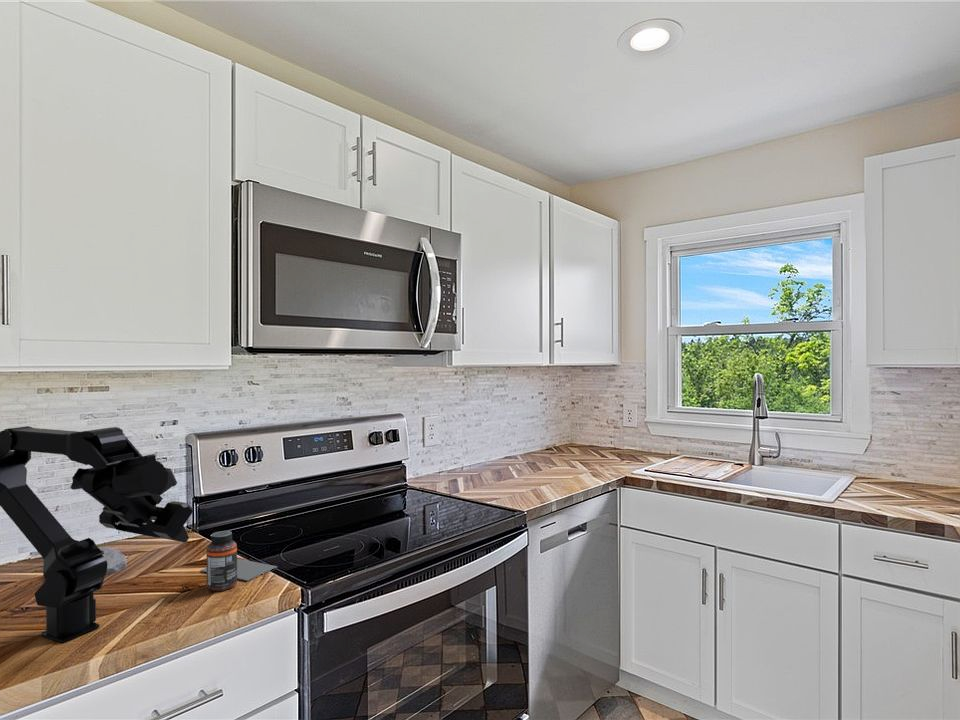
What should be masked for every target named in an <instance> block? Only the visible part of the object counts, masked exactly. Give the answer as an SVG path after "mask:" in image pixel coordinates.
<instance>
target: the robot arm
mask: <svg viewBox="0 0 960 720" xmlns="http://www.w3.org/2000/svg"><path fill="white" fill-rule="evenodd" d="M32 452H33V453H44V454H52V455H53V454H54V455H55V454H56V455H62V456H66V457H67V458H68V460H69V461H72V462H76V463H79V464H82V465H86V466H90V467H89V468H77V470H76V472H75V473H74V475H73V476H72V477H71V478H72V479H71V480H72V483H71V486H70V489H71V490H81V489H82V490H83V491H84V492H85V493H86V494H87V495H88V496H90V497H92V498H93V499H94V500H95V501H97V502H98V503H99V504H101V505H102V506H103V508H102V511H101V513H100V514H99V515H98V517H99V519H98V523H99V524H100V525H102V526H103V527H105V528H108V529H113V530H116V531H120V532H124V533H131V534H135V535H141V536H146V537H151V538H157V539H165V540H170V541H175V542H180V543H185V544H186V543H187V542H188V541H189V538H190V537H189V534H188V532H187V530H186V528H185V525H186V523H187V521H188V520H189V518H190V517H191V516H192V514H193V512H194V508H193V507H192V506H191V505H190V504H188V502H183V501H175V500H173V501H170V502H167V503H166V505H165V506H164V507H163V506H157V505H159V504H160V503H162V500H163V499H164V498H163V497H162V495H163V494H164V493H166V492H168V490H169V489H171V488H173V487H175V486H176V485H177V484H178V481H177V480H176V477H175V474H174V472H173V470H172V468H169V467H165V466H164V464H163V463H161V462H160V461H158V460H157V458H156V454H155V453H152V454H147V455H146V454H145V455H142V453H140V451H139V450H138V449H137V448H136V447H135V445H134V444H133V443H132V442H131V441H130V439H129V438H128V437H127V436H126V435H125V433H124V431H123V429H122V428H120V427H117V426H111V427H106V428H105V427H104V428H98V429H97V428H96V429H91V430H89V429H88V430H84V431H83V430H82V431H77V430H76V431H75V430H63V429H51V428H39V427H37V428H36V427H32V426H29V425H26V426H19V427H11V428H10V427H9V428H4V429H3V430H0V507H1V508H2V510H3V512H4V513H6V515H7V516H8V517H9V518H10V520H12V522H13V523H14V524H15V525H16V527H17V528H18V530H20V532H21V533H22V535H24V537H25V538H26V539H27V540H28V541H29V543H30V544H31V545H32V546H33V548H34V549H35V550H36V551H37V552H38V554H39V555H40V556H41V558H42V559H43V566H42V567H43V568H42V571H43V572H42V576H43V578H44V579H45V581H44V582H43V583H42V585H40V587H39V588H38V589H37V590H36V591H35V592H34V597H35V602H36V605H37V606H40V607H45V609H46V610H45V615H46V616H45V617H46V618H45V621H46V622H45V624H46V625H45V628H46V630H43V631H41V632H40V637H43V638H47V639H50V640H53V641H55V642H59V643H65V642H68V641H70V640H72V639H75V638H78V637H80V636H83V635H84V634H86V633H90V632H91V631H94V630H96V629H98V628H100V623H96V621H97V608H96V607H97V600H96V598H94V597H95V596H94V592H96V591H99V590H101V589H102V587H103V584H104V580H105V578H106V576H107V575H106V572H107V565H108V563H107V561H106V559H105V557H104V556H103V554H104V552H103V551H101V550H100V549H99V547H98V546H97V544H96V542H95V541H94V540H93V539H92V538H90V537H88V538H85V539H82V540H76V539H74V538H73V537H72V536H71V535H70V534H69V532H68V531H66V529H65V528H64V527H63V526H62V524H61V523H60V522H59V521H58V520H57V518H56V517H55V516H54V515H53V514H52V512H51V511H50V510H49V509H48V508H47V506H45V504H44V503H43V502H42V500H41V499H40V498H39V497H38V496H37V495H36V493H35V492H34V491H33V489H31V487H30V486H29V485H28V484H27V475H28V473H27V472H28V469H27V467H26V465H27V464H28V463H29V462H30V460H32Z"/></svg>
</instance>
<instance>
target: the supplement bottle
mask: <svg viewBox="0 0 960 720" xmlns="http://www.w3.org/2000/svg"><path fill="white" fill-rule="evenodd" d="M210 537H211V540H210V541H211V542H210V543H209V544H208V545H207V547H206V568H207V573H206V588H207V589H208V590H210V591H213V592H219V591H220V592H223V591H227V590H230V589H232V588H234V587H236V586H237V584H238V580H237V559H238V545H237V542H236V541H234V540H233V533H232V531H229V530H222V531H221V530H220V531H215V532H213V533H211V536H210Z"/></svg>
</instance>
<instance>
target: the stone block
mask: <svg viewBox="0 0 960 720" xmlns="http://www.w3.org/2000/svg"><path fill="white" fill-rule="evenodd" d="M98 548H99V547H98ZM99 549H100V550H101V551H103V552H104V554H103V556H104V557H105V559H106V561H107V563H108V565H107V572H106V576H107V575H108V576H109V575H112V574H116V573H119V572H121V571H123V570H125V569H127V568H128V567H127V565H128V563H127V559H126V556H125V555H124V553H123V552H121V551H120V550H119V549H116V548H114V547H107V546H106V547H105V546H104V547H100V548H99ZM126 567H127V568H126ZM122 569H123V570H122ZM120 570H121V571H120Z"/></svg>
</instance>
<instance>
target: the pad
mask: <svg viewBox="0 0 960 720" xmlns="http://www.w3.org/2000/svg"><path fill="white" fill-rule="evenodd" d="M274 568H277V569H278V566H277V565H272V564H268V563H267V564H266V563H262V562H257V561H253V560H252V561H251V560H246V559H241V558H237V579H238V580H237V581H241V580H244V581H243V582H245V581H248V582H250V581H249V580H251V579H253V578H255V579H257V578H258V577H257V576H259V575H261V574H263V573H266V572H268V573H270V572H272V571H273V570H272V569H274ZM271 570H272V571H271ZM274 570H275V569H274ZM269 571H270V572H269ZM203 572H206V573H205V574H207V567H205V568H203V569H201V570H200V573H203ZM266 574H267V573H266ZM261 576H262V575H261ZM256 577H257V578H256ZM259 577H260V576H259ZM253 580H254V579H253ZM251 581H252V580H251Z"/></svg>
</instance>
